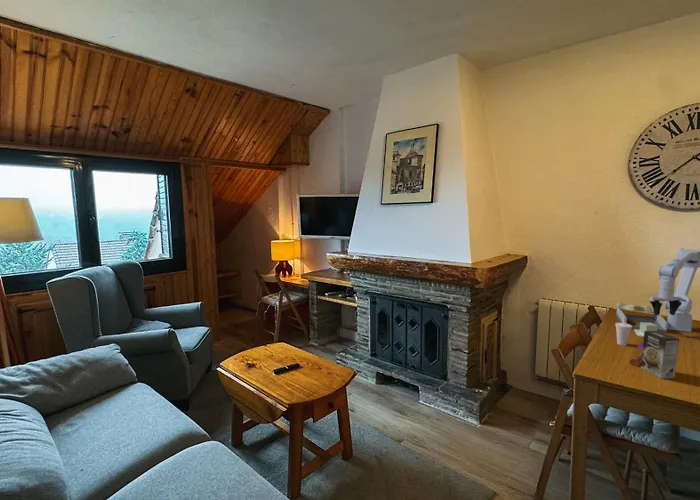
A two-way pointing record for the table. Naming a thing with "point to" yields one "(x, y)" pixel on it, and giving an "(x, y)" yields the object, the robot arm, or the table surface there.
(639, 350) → the kendama
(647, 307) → the lid
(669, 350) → the grey cardboard box
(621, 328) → the smoothie
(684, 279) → the robot arm
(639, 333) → the tile
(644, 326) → the block
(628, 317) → the grey shallow open box
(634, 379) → the table surface
